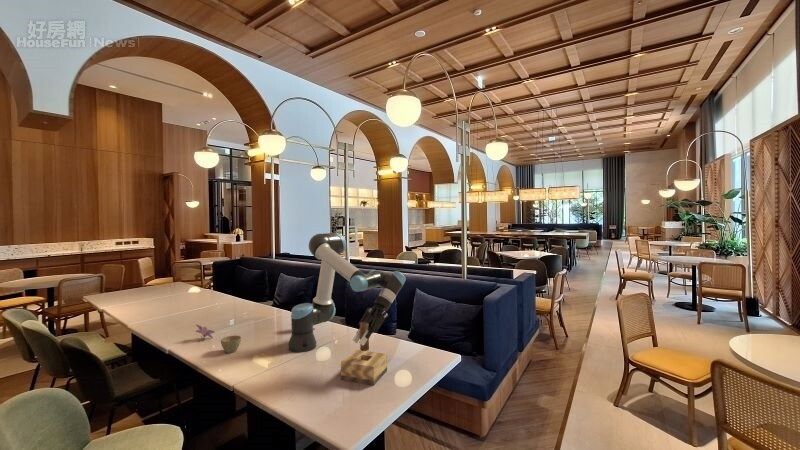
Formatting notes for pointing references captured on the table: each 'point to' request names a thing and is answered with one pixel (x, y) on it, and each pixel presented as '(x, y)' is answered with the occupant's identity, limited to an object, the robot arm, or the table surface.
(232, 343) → the flower pot
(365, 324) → the pin
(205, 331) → the lily
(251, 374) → the table surface
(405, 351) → the table surface
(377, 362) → the socket block
